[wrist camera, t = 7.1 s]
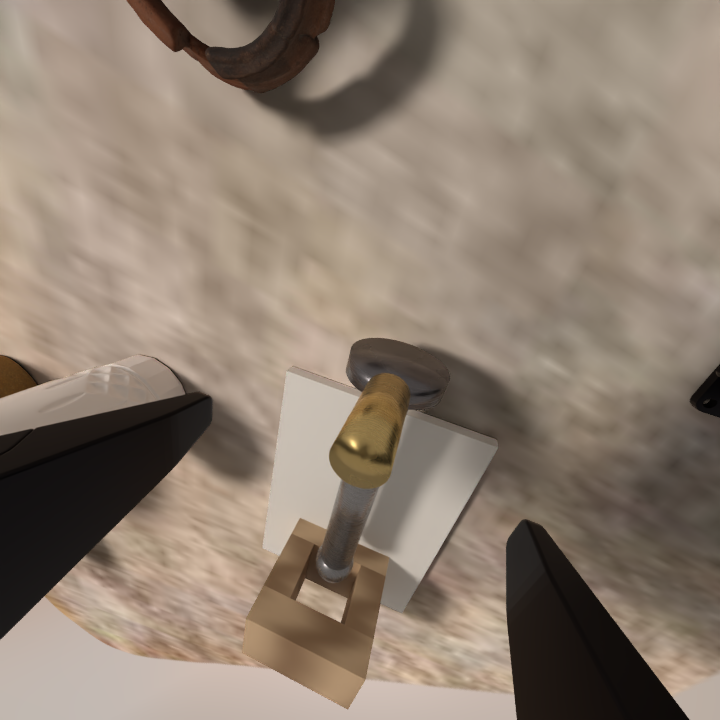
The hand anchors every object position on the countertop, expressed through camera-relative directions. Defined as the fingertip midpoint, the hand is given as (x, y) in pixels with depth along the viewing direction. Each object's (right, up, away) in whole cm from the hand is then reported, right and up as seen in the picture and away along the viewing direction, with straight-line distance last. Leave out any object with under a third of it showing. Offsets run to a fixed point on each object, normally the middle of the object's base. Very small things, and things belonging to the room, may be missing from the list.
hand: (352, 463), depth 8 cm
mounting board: (0, -8, +16) cm, 18 cm away
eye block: (-2, -14, +18) cm, 23 cm away
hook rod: (+1, -4, +11) cm, 12 cm away
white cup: (-17, 0, +18) cm, 25 cm away
